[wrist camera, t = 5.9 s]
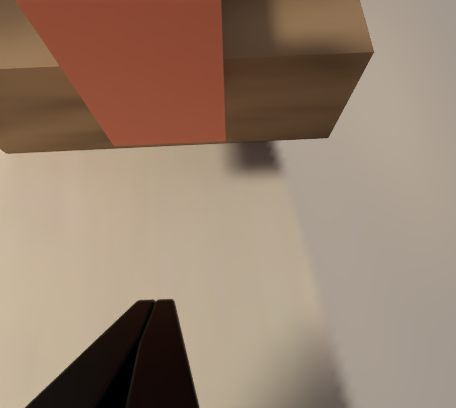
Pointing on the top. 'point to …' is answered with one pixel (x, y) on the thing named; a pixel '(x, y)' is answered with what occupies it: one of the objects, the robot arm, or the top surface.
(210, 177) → the top surface
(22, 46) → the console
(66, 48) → the red plunger
